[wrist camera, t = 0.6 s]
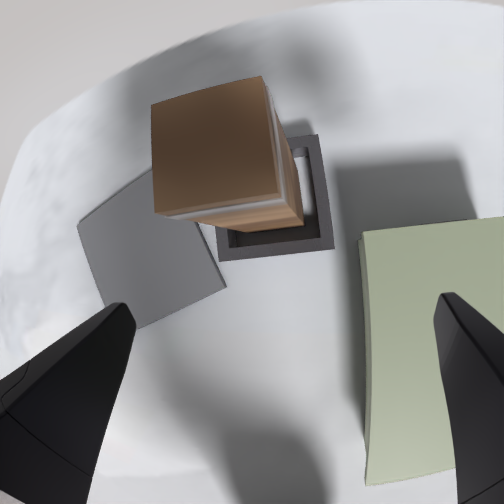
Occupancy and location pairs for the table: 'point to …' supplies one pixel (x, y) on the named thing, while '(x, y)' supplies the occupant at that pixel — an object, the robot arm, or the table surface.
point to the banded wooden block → (224, 160)
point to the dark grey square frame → (326, 242)
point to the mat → (147, 255)
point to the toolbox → (419, 335)
